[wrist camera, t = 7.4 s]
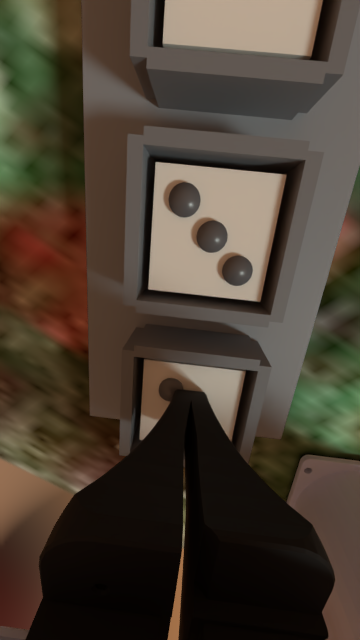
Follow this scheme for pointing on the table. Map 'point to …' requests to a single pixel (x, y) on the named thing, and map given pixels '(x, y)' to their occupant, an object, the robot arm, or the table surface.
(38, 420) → the table surface
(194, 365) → the two pip button
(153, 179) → the button panel
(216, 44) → the one pip button
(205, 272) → the three pip button
